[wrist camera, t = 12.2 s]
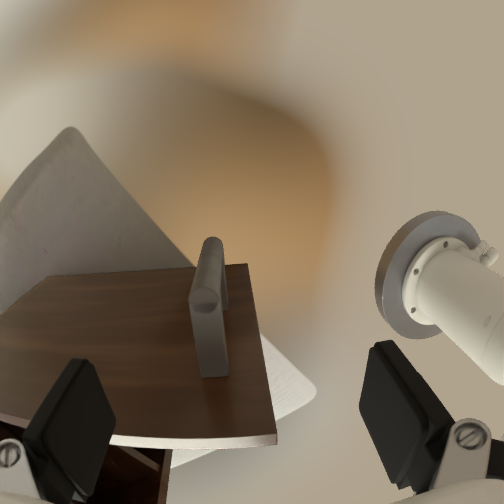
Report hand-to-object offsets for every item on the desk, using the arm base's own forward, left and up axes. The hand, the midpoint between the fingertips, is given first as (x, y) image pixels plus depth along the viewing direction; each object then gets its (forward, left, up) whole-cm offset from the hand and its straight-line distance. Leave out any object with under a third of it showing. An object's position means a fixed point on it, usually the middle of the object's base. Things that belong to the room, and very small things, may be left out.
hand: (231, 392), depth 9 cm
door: (+11, -5, -26) cm, 29 cm away
